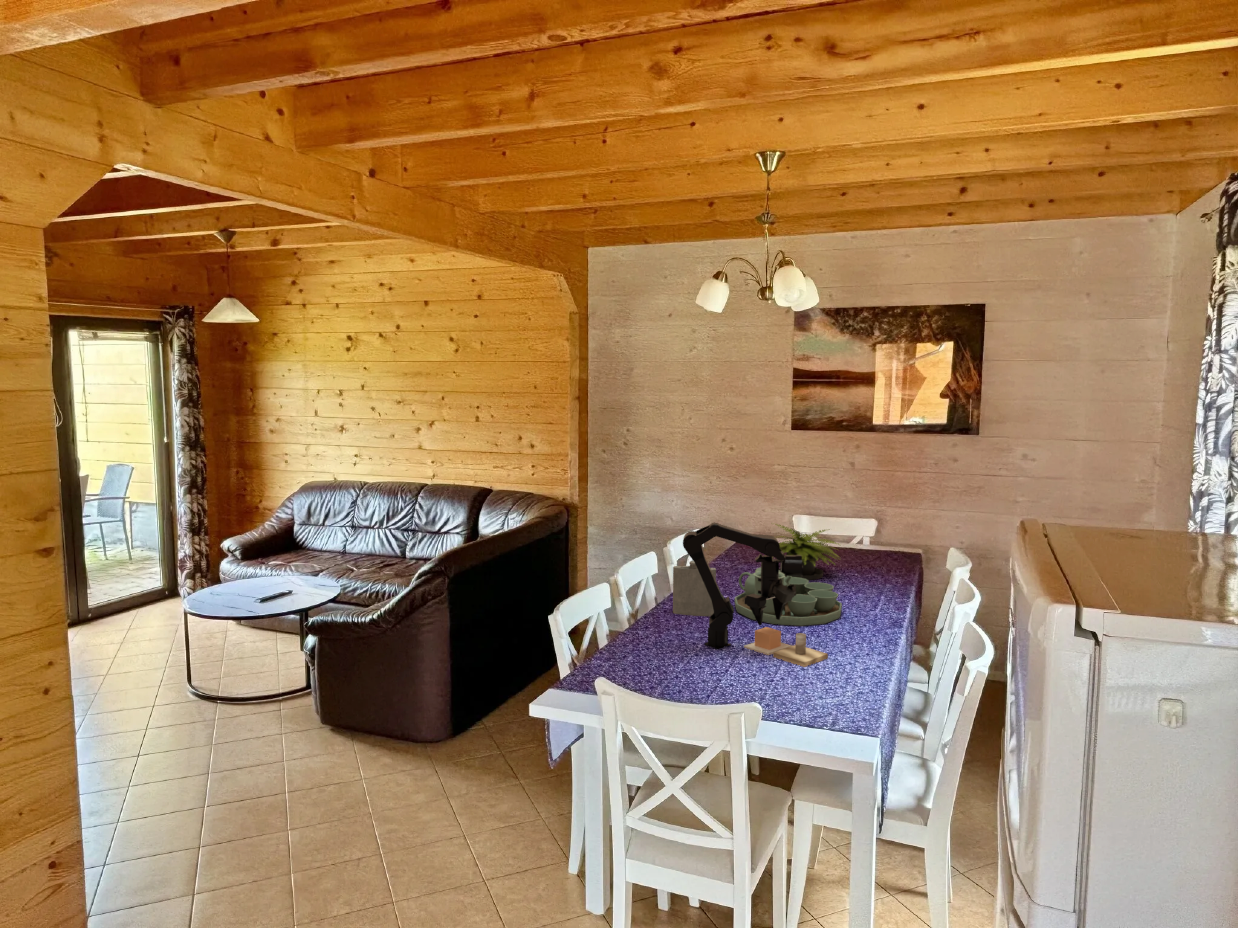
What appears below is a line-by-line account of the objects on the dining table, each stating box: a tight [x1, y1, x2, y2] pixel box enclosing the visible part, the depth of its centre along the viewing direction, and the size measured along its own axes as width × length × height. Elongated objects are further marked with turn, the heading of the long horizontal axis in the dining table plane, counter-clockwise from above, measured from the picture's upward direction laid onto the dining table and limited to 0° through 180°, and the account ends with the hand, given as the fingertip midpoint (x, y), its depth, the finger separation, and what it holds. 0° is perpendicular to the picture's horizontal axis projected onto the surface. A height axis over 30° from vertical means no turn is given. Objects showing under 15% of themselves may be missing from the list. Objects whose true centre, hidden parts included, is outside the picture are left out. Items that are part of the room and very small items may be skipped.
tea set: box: [734, 566, 843, 627], centre depth 313 cm, size 40×40×16 cm
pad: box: [743, 641, 793, 656], centre depth 272 cm, size 12×10×1 cm
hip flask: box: [672, 560, 717, 617], centre depth 308 cm, size 16×4×20 cm, turn 76°
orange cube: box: [754, 626, 782, 650], centre depth 271 cm, size 6×6×5 cm
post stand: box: [772, 632, 829, 668], centre depth 262 cm, size 12×12×8 cm
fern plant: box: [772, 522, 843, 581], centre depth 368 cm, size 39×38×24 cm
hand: (769, 622), depth 271 cm, fingers open, 9 cm apart
